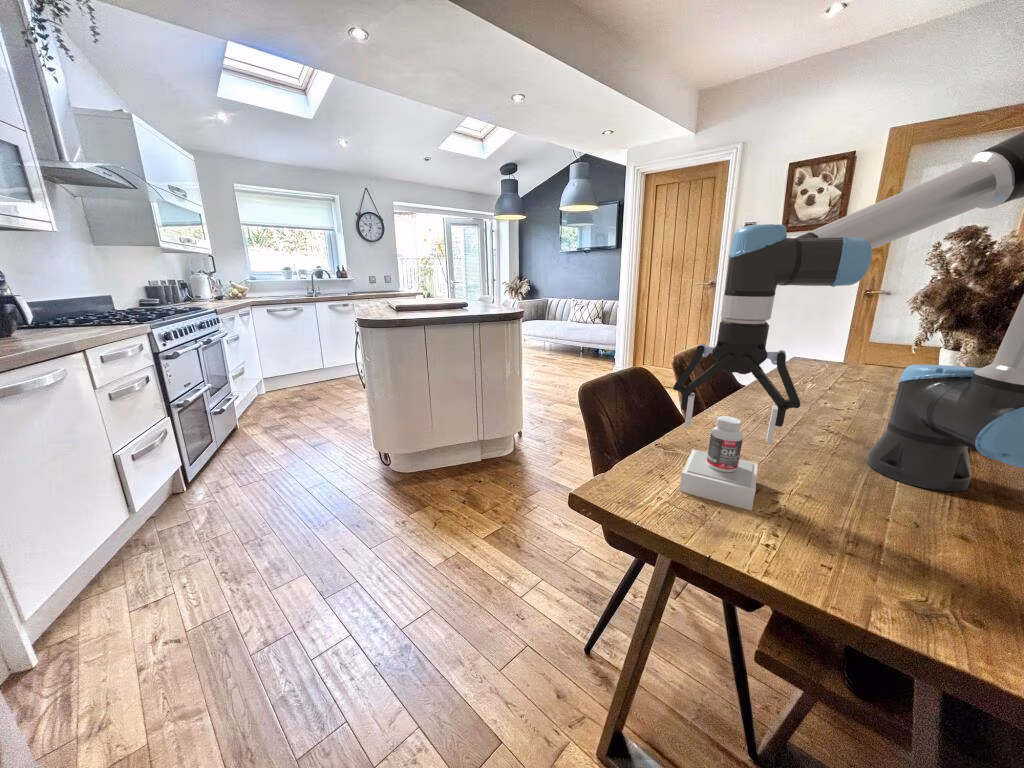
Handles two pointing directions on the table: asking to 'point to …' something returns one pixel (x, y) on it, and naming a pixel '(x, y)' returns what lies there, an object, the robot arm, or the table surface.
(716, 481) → the plinth
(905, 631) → the table surface
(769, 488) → the table surface
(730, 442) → the pill bottle
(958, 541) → the table surface
